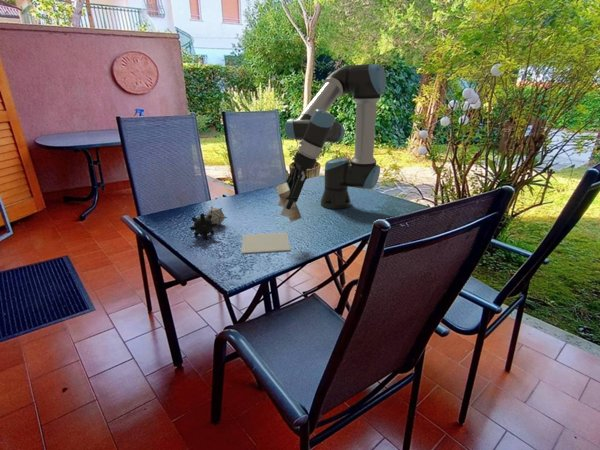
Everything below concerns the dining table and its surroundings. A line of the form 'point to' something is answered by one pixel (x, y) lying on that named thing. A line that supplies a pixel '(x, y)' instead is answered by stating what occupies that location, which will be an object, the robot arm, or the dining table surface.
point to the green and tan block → (283, 194)
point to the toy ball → (203, 225)
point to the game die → (216, 215)
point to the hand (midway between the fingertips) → (282, 210)
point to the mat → (265, 243)
